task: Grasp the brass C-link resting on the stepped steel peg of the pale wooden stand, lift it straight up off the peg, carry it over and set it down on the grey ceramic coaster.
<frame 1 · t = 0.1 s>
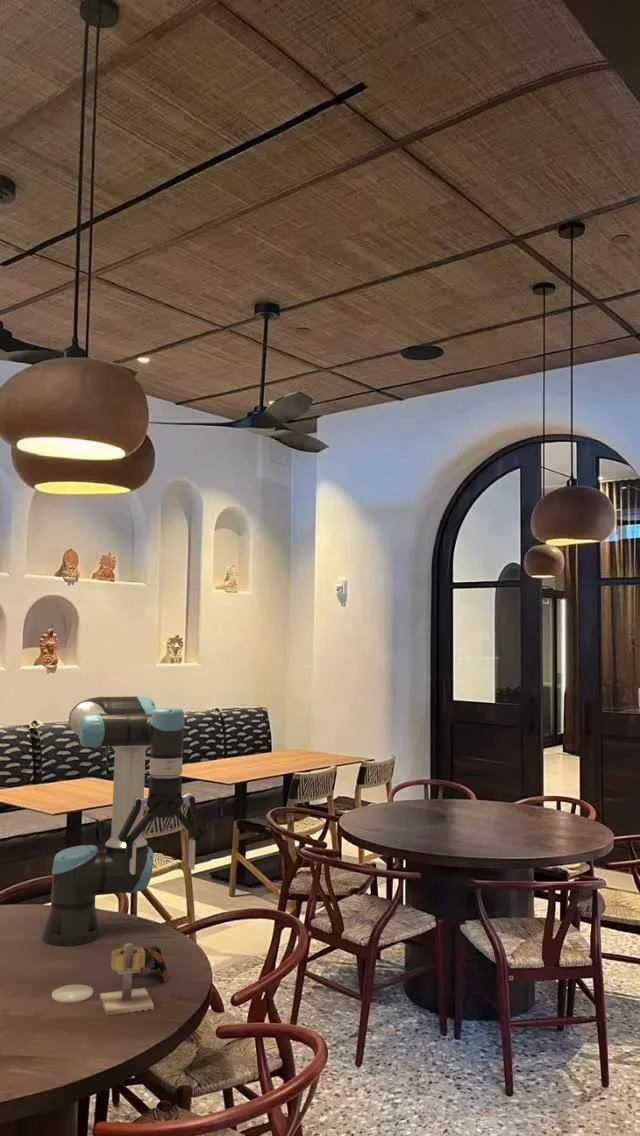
hand: (162, 870, 195), 28 cm above the table, fingers open, 13 cm apart
brown black curved arch: (148, 979, 204), on the table
peg stand: (126, 1003, 189), on the table
c link: (127, 965, 190), point 8 cm above the table, touching peg stand
coaster: (72, 994, 193), on the table
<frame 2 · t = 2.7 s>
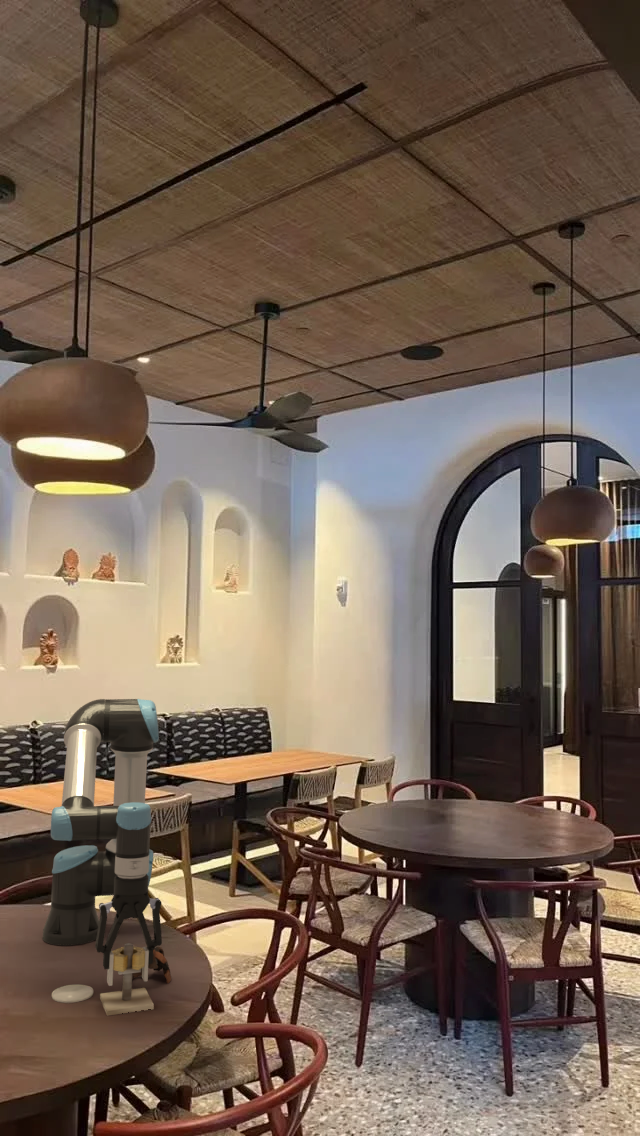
hand: (127, 981, 190), 5 cm above the table, fingers closed on c link, 7 cm apart
c link: (127, 965, 190), point 8 cm above the table, touching gripper, peg stand
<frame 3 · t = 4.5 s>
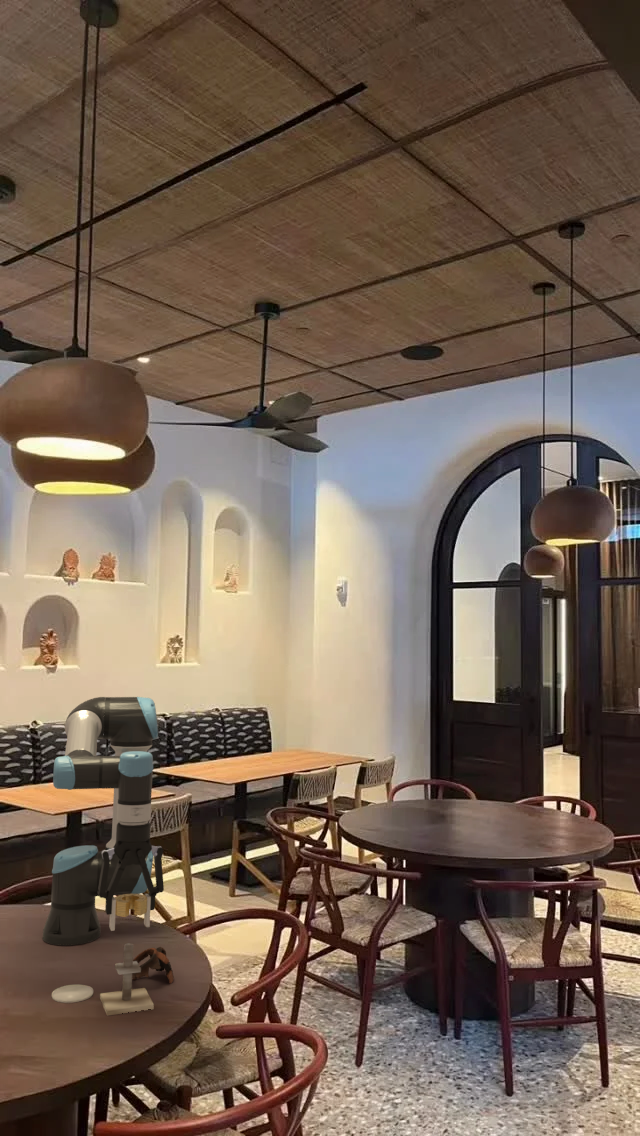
hand: (129, 926, 191), 16 cm above the table, fingers closed on c link, 7 cm apart
c link: (130, 911, 191), point 20 cm above the table, touching gripper
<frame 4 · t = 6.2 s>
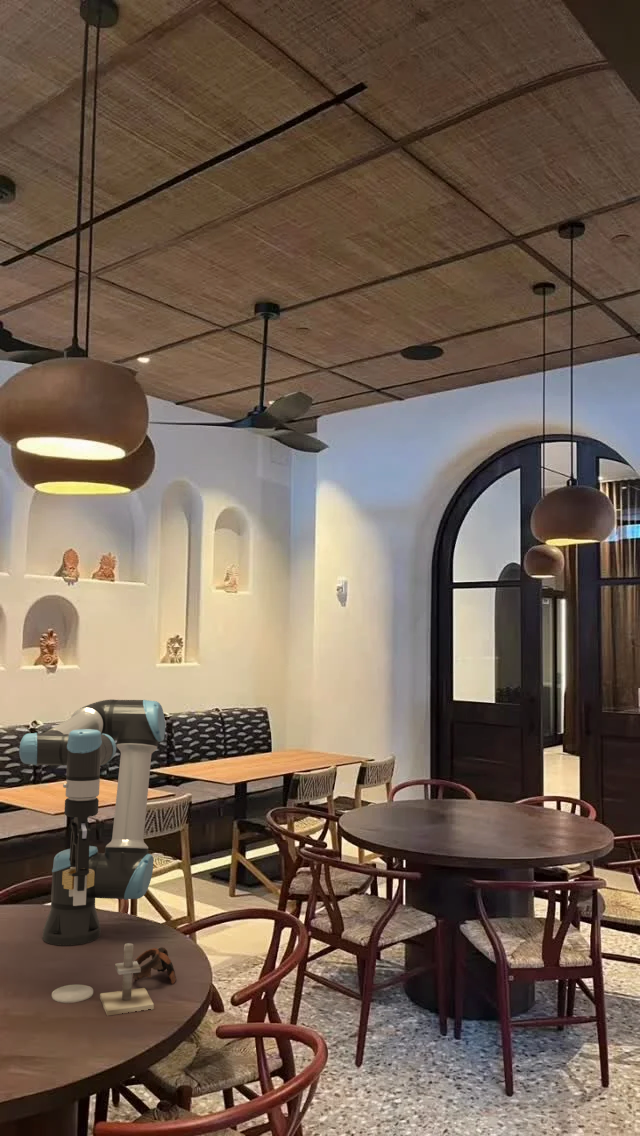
hand: (77, 900, 195), 21 cm above the table, fingers closed on c link, 7 cm apart
c link: (77, 885, 196), point 24 cm above the table, touching gripper
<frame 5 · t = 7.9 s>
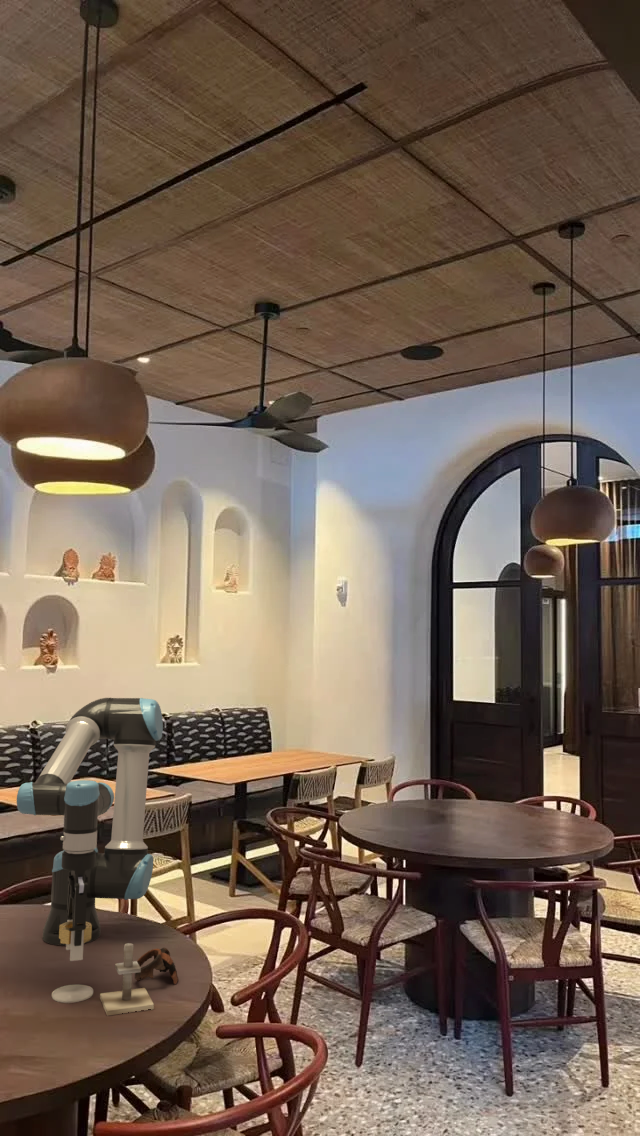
hand: (74, 954, 194), 9 cm above the table, fingers closed on c link, 7 cm apart
c link: (74, 939, 194), point 12 cm above the table, touching gripper
when the fingers open (1 cm above the table, at t = 9.6 s): c link drops 4 cm, resting on coaster.
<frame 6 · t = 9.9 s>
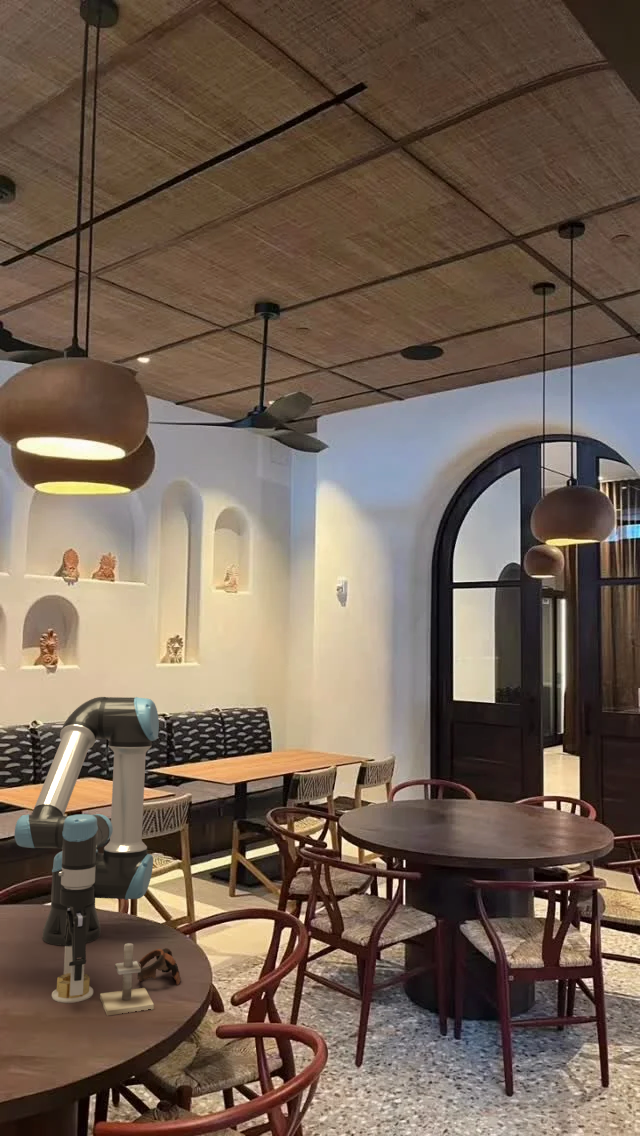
hand: (73, 984, 194), 2 cm above the table, fingers open, 11 cm apart
c link: (72, 992, 193), point 1 cm above the table, touching coaster
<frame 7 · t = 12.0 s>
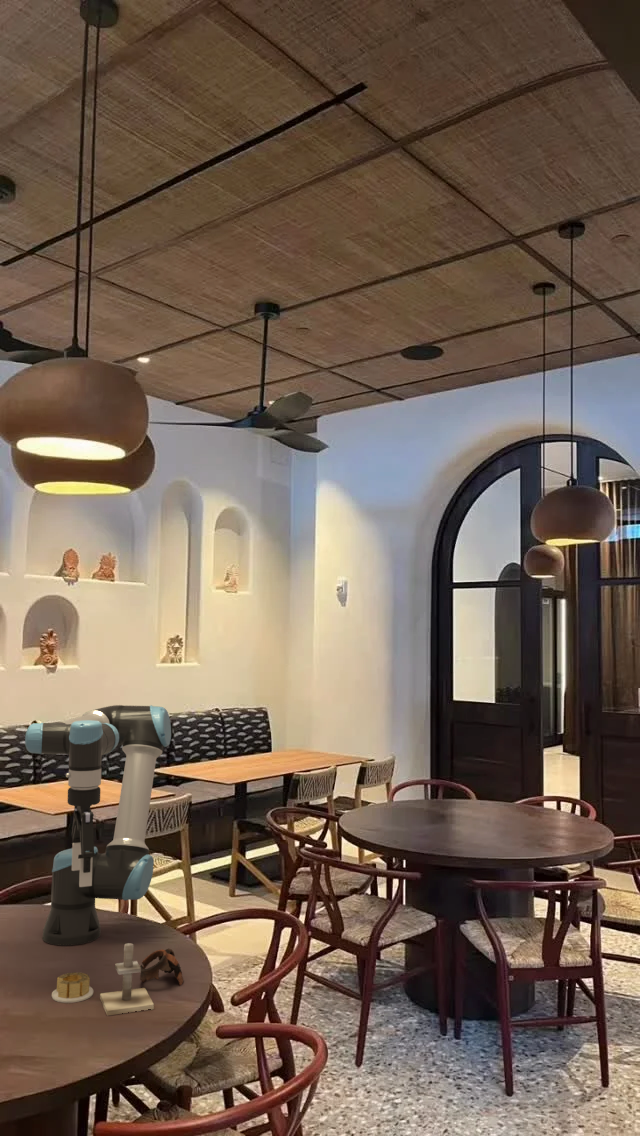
hand: (81, 877, 202), 24 cm above the table, fingers open, 13 cm apart
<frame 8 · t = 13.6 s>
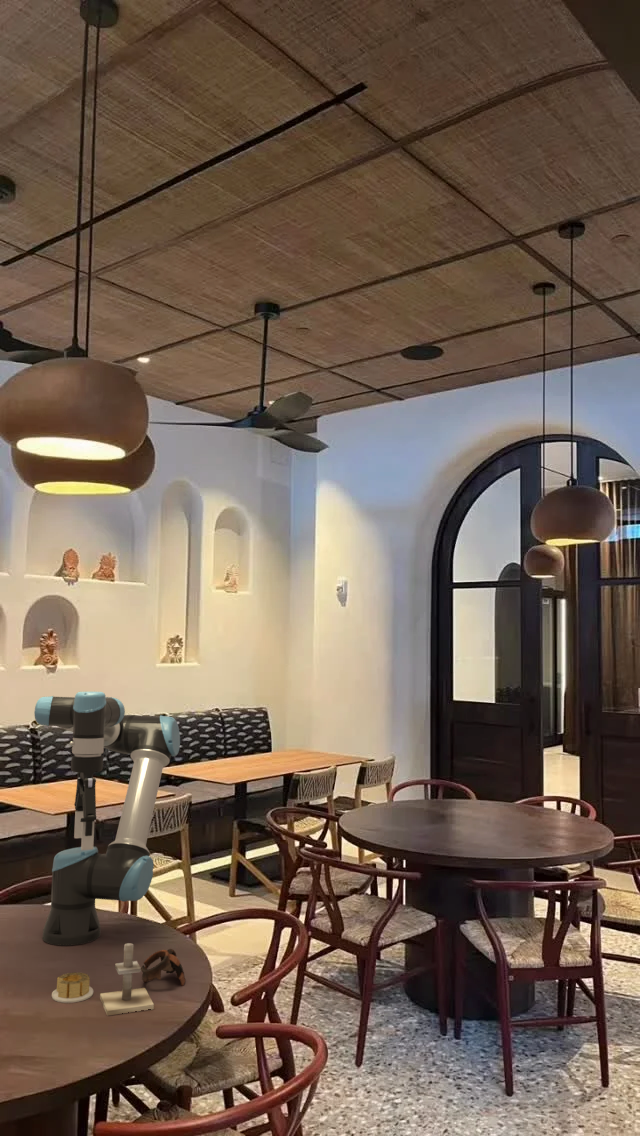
hand: (83, 843, 208), 31 cm above the table, fingers open, 13 cm apart
at the end: c link inside the target area on the coaster (0.1 cm from its centre), point 0.6 cm above the coaster's base; c link touching coaster; c link tilted 0° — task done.
